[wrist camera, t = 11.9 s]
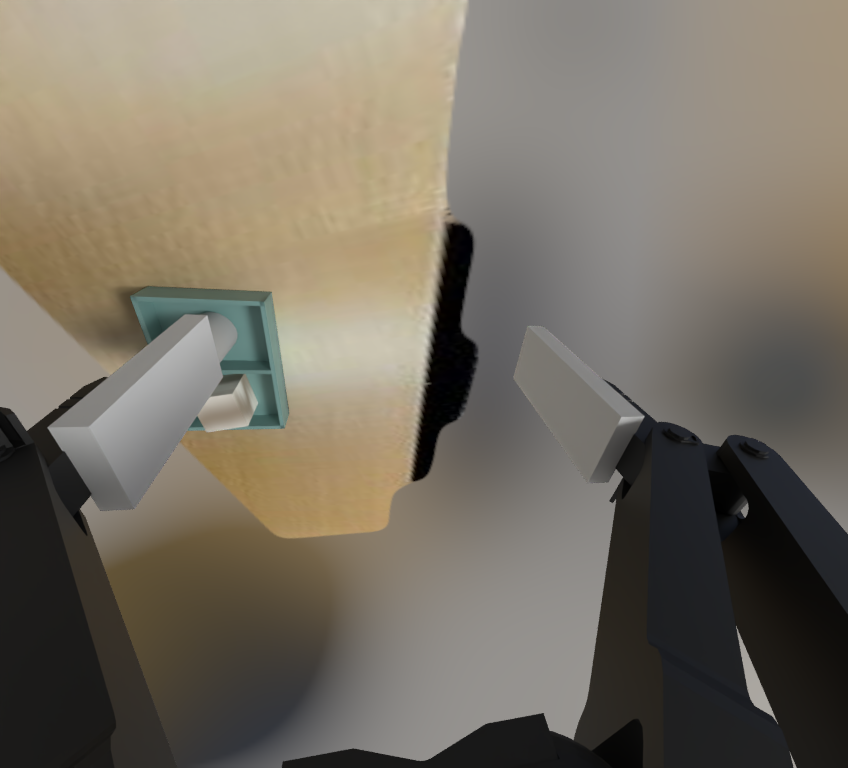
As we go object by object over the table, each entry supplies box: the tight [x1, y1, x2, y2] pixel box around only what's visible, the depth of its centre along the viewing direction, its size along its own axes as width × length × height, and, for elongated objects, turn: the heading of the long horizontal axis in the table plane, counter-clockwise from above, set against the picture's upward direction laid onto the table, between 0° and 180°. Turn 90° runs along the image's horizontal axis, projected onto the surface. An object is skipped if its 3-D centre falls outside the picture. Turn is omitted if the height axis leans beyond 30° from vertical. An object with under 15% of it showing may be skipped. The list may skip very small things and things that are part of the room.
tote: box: [130, 286, 289, 431], centre depth 42 cm, size 18×13×4 cm
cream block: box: [197, 374, 258, 432], centre depth 43 cm, size 5×5×5 cm
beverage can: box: [200, 312, 238, 363], centre depth 35 cm, size 5×5×12 cm
